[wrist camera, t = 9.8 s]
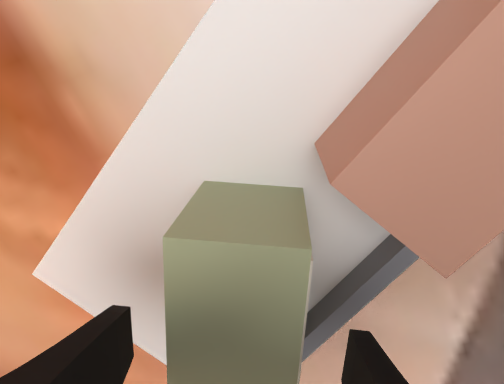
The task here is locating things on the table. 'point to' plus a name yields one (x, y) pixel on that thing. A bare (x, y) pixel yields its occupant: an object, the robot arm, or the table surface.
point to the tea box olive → (237, 285)
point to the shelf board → (240, 157)
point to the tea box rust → (430, 136)
